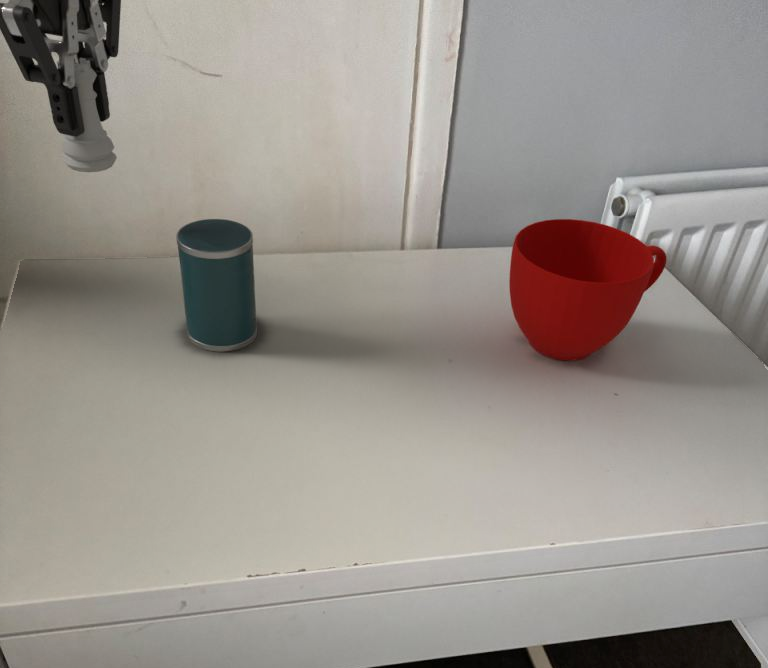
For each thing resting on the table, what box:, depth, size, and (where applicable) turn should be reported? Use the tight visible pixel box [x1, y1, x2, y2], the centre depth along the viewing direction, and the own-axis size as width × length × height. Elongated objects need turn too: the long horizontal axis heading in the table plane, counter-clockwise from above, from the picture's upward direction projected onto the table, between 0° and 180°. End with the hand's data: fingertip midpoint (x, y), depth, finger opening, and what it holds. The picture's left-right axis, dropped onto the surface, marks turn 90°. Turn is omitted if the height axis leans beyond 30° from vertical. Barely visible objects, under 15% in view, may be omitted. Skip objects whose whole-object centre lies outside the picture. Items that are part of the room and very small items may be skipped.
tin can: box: [175, 218, 258, 353], centre depth 78 cm, size 7×7×10 cm
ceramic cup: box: [508, 218, 667, 361], centre depth 81 cm, size 13×17×10 cm
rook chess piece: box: [56, 57, 118, 173], centre depth 69 cm, size 4×4×8 cm
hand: (84, 125), depth 69 cm, fingers closed on rook chess piece, 3 cm apart
